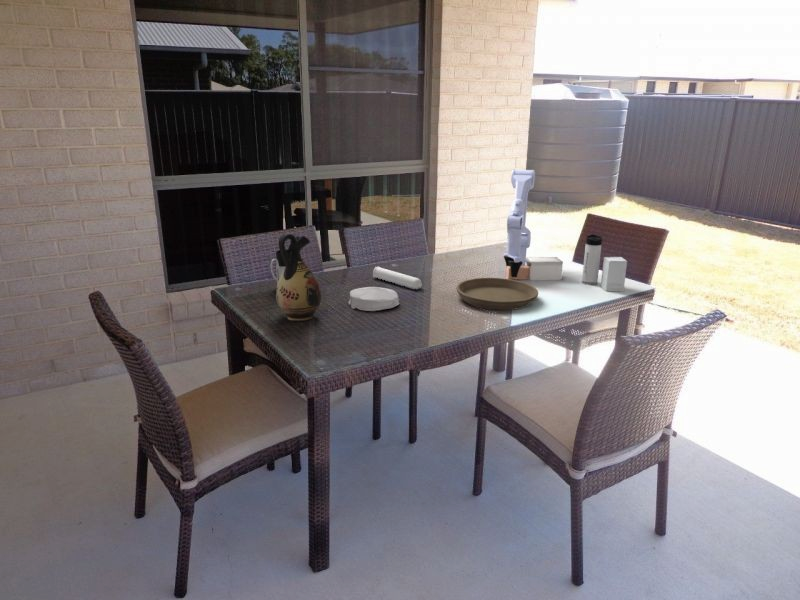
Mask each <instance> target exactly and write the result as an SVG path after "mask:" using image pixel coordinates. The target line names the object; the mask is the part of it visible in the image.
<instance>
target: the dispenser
mask: <svg viewBox="0 0 800 600" xmlns="http://www.w3.org/2000/svg"><path fill="white" fill-rule="evenodd" d="M524 261H525V262H526V264H525V265H526V266H530V275H529V279H530V280H529V279H528V280H529V281H560V280H561V281H562V276H563V275H562V274H563V267H564V266H563V263H564V261H562V260H561V259H560V258H559V257H558V256H549V257H548V256H547V257H546V256H545V257H544V256H538V257H535V256H534V257H533V256H532V257H531V256H529V257H527V256H526V258H524Z"/></svg>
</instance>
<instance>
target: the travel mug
mask: <svg viewBox="0 0 800 600" xmlns="http://www.w3.org/2000/svg"><path fill="white" fill-rule="evenodd" d="M585 239H586V240H585V241H586V242H585V246H584V247H585V248H584V258H583V269H582V277H581V283H582V284H584V285H587V284H588V286H594V285H598V281H599V270H600V263H601V252H602V242H603V237H601V236H600V235H596V234H590V235H586V237H585Z"/></svg>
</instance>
